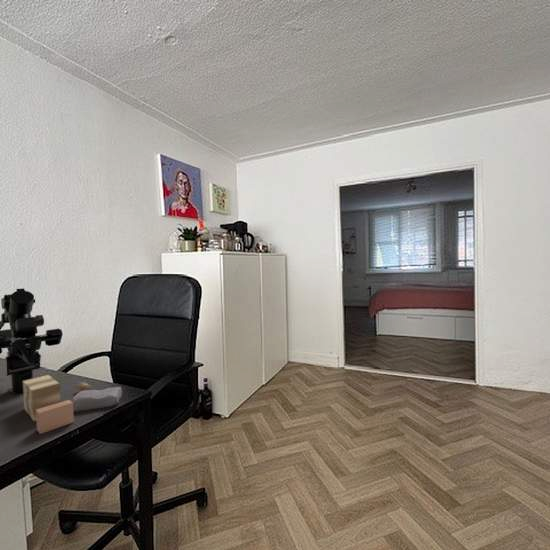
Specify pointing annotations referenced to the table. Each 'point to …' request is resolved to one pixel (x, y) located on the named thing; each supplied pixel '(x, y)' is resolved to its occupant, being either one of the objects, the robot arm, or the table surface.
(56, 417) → the block
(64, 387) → the table surface
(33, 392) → the notched wooden block
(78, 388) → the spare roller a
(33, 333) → the robot arm
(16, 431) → the table surface
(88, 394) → the stone block
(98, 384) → the table surface
